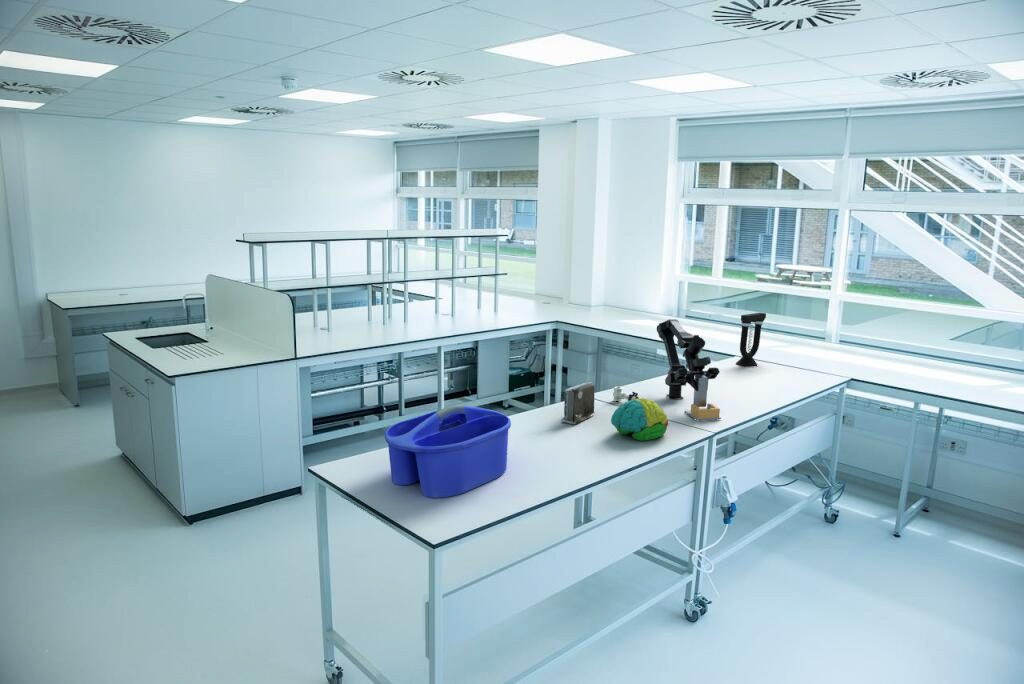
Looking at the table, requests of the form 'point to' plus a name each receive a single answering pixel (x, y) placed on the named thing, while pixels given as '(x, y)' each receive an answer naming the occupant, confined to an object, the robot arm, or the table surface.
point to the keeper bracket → (704, 412)
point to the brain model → (640, 419)
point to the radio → (579, 403)
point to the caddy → (449, 449)
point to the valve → (623, 395)
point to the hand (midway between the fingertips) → (702, 390)
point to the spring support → (746, 321)
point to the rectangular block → (701, 391)
